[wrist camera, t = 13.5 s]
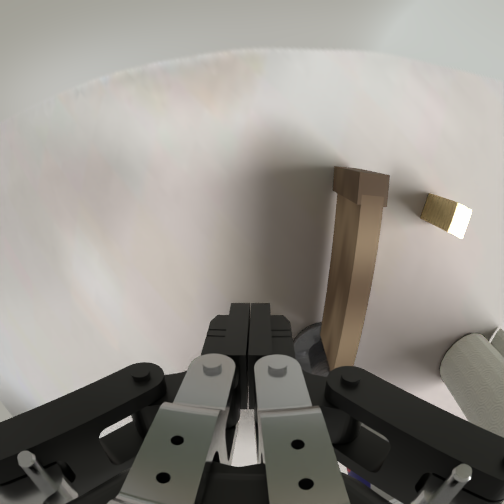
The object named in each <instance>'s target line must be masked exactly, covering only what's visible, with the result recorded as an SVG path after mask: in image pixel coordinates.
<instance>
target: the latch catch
mask: <svg viewBox="0 0 504 504" xmlns="http://www.w3.org/2000/svg"><path fill="white" fill-rule="evenodd" d="M471 213H472V210H471V209H469V208H467V207H465V206H463V205H462V204H460V203H458V202H455V201H452V200H449V199H446V198H443V197H440V196H437V195H433V194H430V193H429V194H428V197H427V200H426V203H425V206H424V209H423V212H422V214H421V217H420V218H421V219H423V220H425V221H427V222H429V223H431V224H433V225H435V226H437V227H439V228H441V229H443V230H445V231H447V232H449V233H451V234H453V235H455V236H457V237H459V238H461V239H462V238H463V235H464V233H465V230H466V227H467V224H468V222H469V219H470V216H471Z"/></svg>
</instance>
